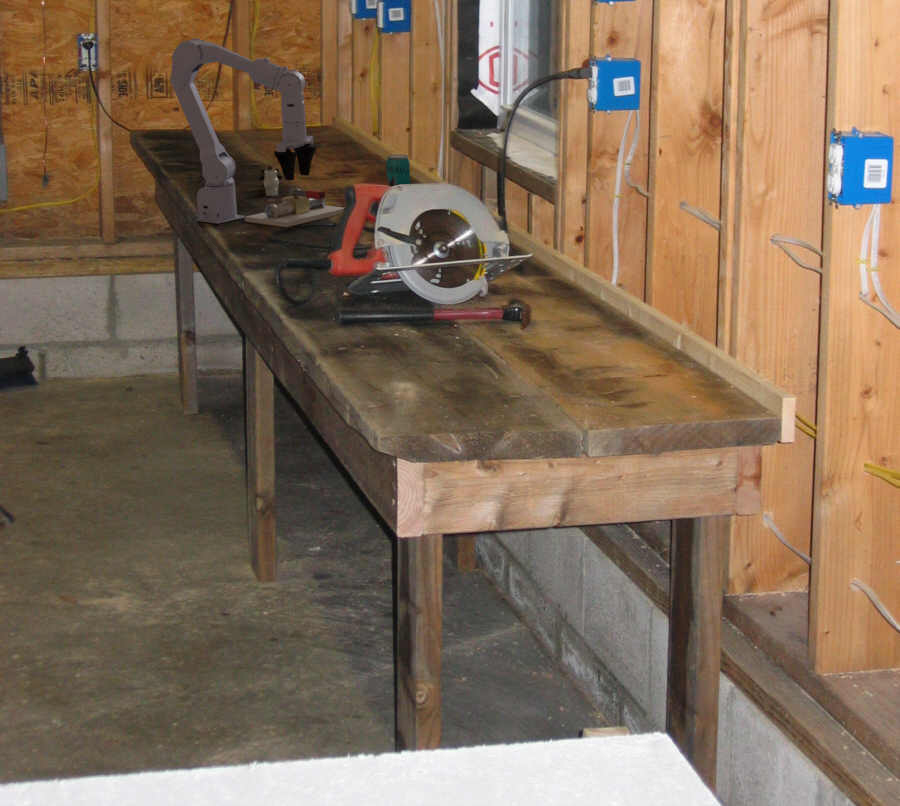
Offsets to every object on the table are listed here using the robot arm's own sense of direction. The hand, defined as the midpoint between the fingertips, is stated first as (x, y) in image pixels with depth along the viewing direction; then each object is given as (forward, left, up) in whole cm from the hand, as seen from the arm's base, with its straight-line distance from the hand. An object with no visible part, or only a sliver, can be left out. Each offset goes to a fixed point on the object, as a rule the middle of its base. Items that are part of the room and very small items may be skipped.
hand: (297, 177), depth 350 cm
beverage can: (+16, -19, -11) cm, 27 cm away
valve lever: (+2, -1, -5) cm, 5 cm away
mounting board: (+2, +3, -10) cm, 11 cm away
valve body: (+2, +3, -10) cm, 11 cm away
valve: (+26, +35, -11) cm, 44 cm away
